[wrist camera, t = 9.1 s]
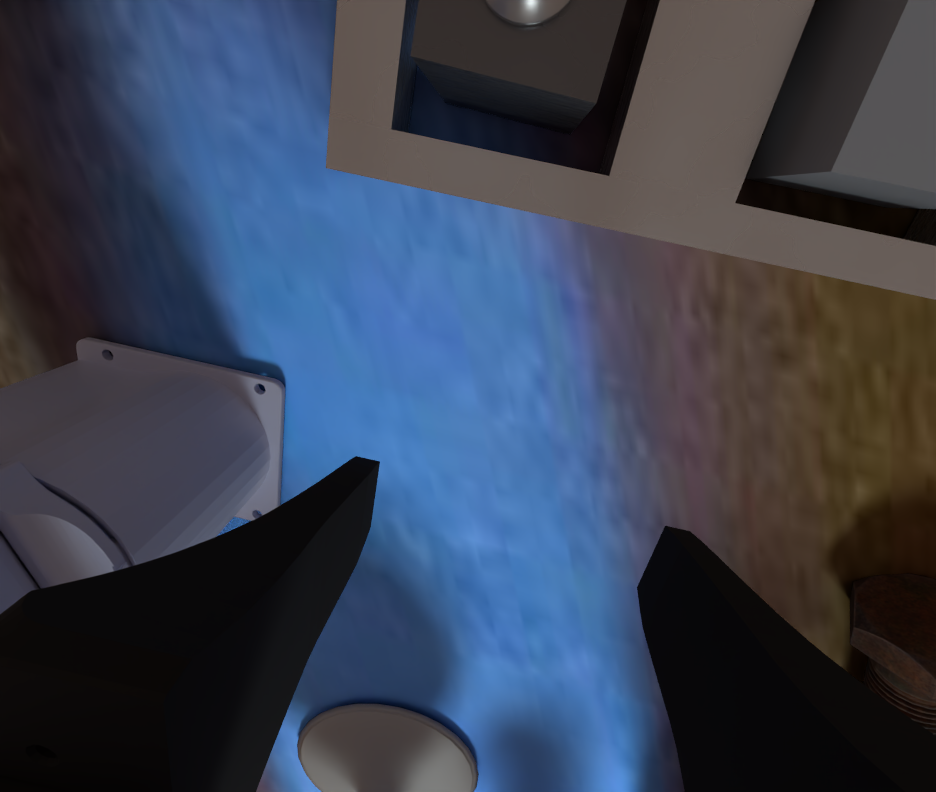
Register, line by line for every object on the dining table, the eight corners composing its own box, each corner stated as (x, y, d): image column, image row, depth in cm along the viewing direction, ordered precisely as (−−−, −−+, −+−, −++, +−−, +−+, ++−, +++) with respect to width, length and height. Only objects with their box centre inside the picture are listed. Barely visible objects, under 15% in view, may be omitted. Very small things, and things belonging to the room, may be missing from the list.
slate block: (745, 179, 17) (831, 171, 12) (812, 4, 15) (946, -85, 10) (886, 207, 17) (1027, 211, 12) (973, 35, 15) (1183, -40, 10)
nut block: (445, 103, 17) (407, 52, 11) (475, -60, 15) (449, -226, 9) (569, 135, 17) (598, 101, 11) (615, -25, 15) (677, -167, 9)
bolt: (820, 737, 30) (853, 553, 24) (932, 783, 27) (1002, 586, 21) (816, 838, 25) (855, 646, 19) (947, 907, 22) (1040, 705, 16)
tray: (350, 171, 18) (325, 168, 15) (382, -203, 14) (355, -280, 11) (931, 297, 17) (991, 311, 15) (1137, -49, 13) (1259, -97, 11)
